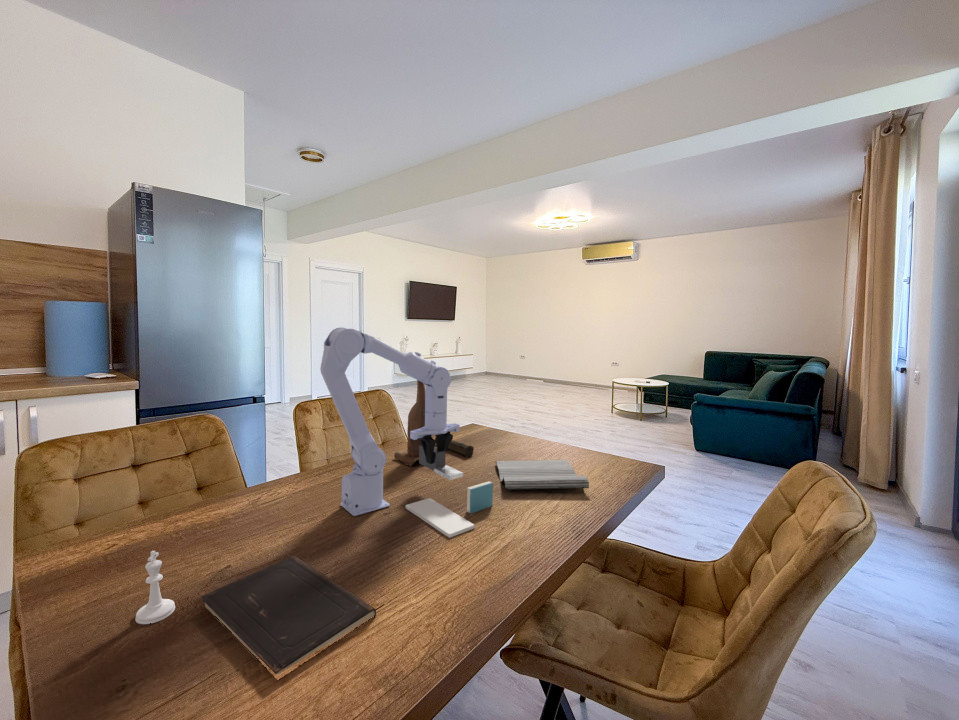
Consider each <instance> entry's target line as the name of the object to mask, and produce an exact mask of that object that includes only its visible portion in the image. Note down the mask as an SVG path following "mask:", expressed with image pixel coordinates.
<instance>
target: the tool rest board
mask: <svg viewBox="0 0 959 720" xmlns="http://www.w3.org/2000/svg"><path fill="white" fill-rule="evenodd" d="M405 509H406V510H407V511H409V512H411V513H412V514H413V515H415V516H416V517H418V518H420V520H423V522H425V523H427V524H428V525H430V526H431V527H432V528H434V529H435V530H437V531H438V532H440V533H441V534H443V536H446V537H448V538H450V539H451V538H453V537H455V536H458V535H461V534H464V533H465V532H466V533H467V532H469V531H471V530H473V529H475V528H476V527H475V524H474V523H472V522H471V521H469V520H468V519H466V518H464V517H463V516H461V515H459V514H457V513H455V512H454V511H452V510H451V509H448V508H447V507H445V506H444V505H442V504H441V503H439V502H437V501H436V500H434V499H432V498H430V497H428V498H424V499H421V500H418V501H415V502H412V503H409V504H405Z"/></svg>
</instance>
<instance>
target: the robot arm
mask: <svg viewBox="0 0 959 720" xmlns="http://www.w3.org/2000/svg"><path fill="white" fill-rule="evenodd" d="M360 353H361V354H370V353H372V354H374V355H375V356H379V357H380V358H383V359H384V360H387V361H389V362H392V363H393V364H396V365H397V366H398V367H399V370H400V372H401V373H402V374H404V375H406V376H409V377H411V378H413V379H415V380H416V381H417V380H418V381H421V382H423V383H424V385H425V427H422V428H419V429H416V430H413V431H410V438H411V439H413V440H417V438H418V440H419V441H420V443H421V445H422V447H423V450H424V453H425V457H426V462H427V463H429V464H433V456H434V447H438V448H440V449H442V450H445V455H447V451H448V449H447V448H448V446H449V444H450V442H451V440H453V439H454V435H453V434H452V433H453V432H456V433H457V432H460V427H461V426H460V424H459V423H457V422H456V423H455V422H454V423H447V419H448V415H447V414H448V412H447V411H448V388H449V387H450V385H451V383H452V379H453V378H452V377H451V374H450V372H449V370H448V369H447V368H445V367H443V366H440V365H439V366H438V365H436V364H437V362H435V361H434V360H431V361H430V360H428V359H426V358H424V357H423V356H422V353H420V352H418V351H415V352H413V351H409V352H407V353H404V352H403V351H400V350H398V349H396V348H395V347H393V346H391V345H389V344H387V343H386V342H384V341H382V340H380V339H378V338H377V337H375V336H373V335H370V334H367V333H365V332H359V331H358V330H357V329H354V328H345V327H336V328H335V329H332V330H331V331H330V332H329V334H328V335H327V337H326V339H325V340H324V341H323V351H322V358H321V363H320V367H319V369H320V374H321V376H322V378H323V380H324V383H325V385H326V387H327V390H328V392H329V394H330V396H331V399H332V401H333V404H334V406H335V409H336V410H337V413H338V416H339V418H340V420H341V421H342V424H343V427H344V429H345V431H346V433H347V436H348V442H349V444H350V456H351V459H352V460H353V462H354V465H353V467H352V471H351V472H349V473H347V474H345V475H343V476H342V478H341V502H340V506H341V507H342V508H343V509H345V510H346V511H347V512H348V513H349V514H351V516H353V517H357V516H360V515H364V514H368V513H371V512H374V511H376V510H380V509H384V508H389V507H390V505H391V504H390V503H389V502H387V501H386V500H385V499H384V467H385V466H386V464H387V455H386V453H385V451H384V450H383V449H381V448H380V447H379V446H378V444H377V442H376V441H375V439H374V436H372V434H371V432H370V430H369V427H368V425H367V423H366V420H365V418H364V415H363V413H362V411H361V409H360V406H359V404H358V402H357V398H356V397H355V395H354V392H353V389H352V387H351V385H350V382H349V380H348V378H347V375H346V371H347V369H348V367H349V365H350V363H351V362H352V361H353V360H354V359H355V358H356V357H357V356H358V355H360ZM433 436H435V437H436V440H435V438H433ZM436 441H437V445H436V444H435V443H436Z"/></svg>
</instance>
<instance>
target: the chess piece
mask: <svg viewBox="0 0 959 720" xmlns="http://www.w3.org/2000/svg"><path fill="white" fill-rule="evenodd" d="M159 555H160V553H159V552H156V550H152V551H150V556H149V557H148V558H147V563H146V564H145V566H144V567H145V570H146V571H147V573H148V575H149V576H148V577H146V579H145V584H150V585H149V586H150V587H149V596H148V603H147V604H144V605H143V606H141V607H140V608H139V609H138V610H137V611H136V614H135V618H134V619H135V622H136V623H137V624H139V625H150V623H151V624H154V623H157V622H160V621H163V620H165V619H166V618H168V617H169V616H170V615H172V613H174V611H175V610H176V605H175V601H174V600H172V599H169V598H162V594H161V589H160V584H159V582H160V581H161V580H163V578H164V576H163V574H161V573H160V571H161V570H160V569H161V567H162V565H163V564H162V563H163V561H162V560H160V559H159V560H158V559H157V557H159Z"/></svg>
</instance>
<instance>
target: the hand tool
mask: <svg viewBox="0 0 959 720" xmlns="http://www.w3.org/2000/svg"><path fill="white" fill-rule="evenodd" d="M434 439H435V440H436V436H435V437H434ZM436 444H437V441H436V443H435V445H436ZM474 448H475V447H474V446H472V445H467V444H465V443H462V442H458V441H456V440H453V439H452V440H451V442H450V444H449V446H448V448H447V450H449V451H453V452H456V453H458V454H460V455H464V457H465V458H468V457H469V458H470V457H472V456H473V455H474Z"/></svg>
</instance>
